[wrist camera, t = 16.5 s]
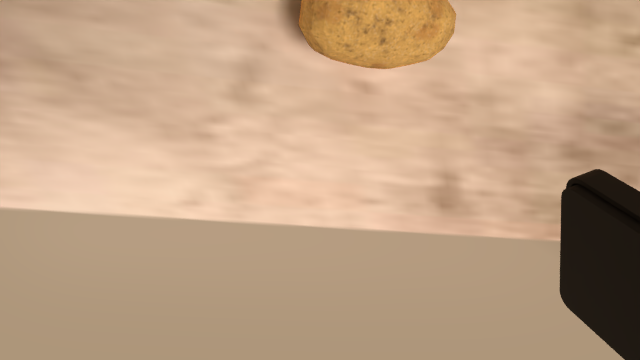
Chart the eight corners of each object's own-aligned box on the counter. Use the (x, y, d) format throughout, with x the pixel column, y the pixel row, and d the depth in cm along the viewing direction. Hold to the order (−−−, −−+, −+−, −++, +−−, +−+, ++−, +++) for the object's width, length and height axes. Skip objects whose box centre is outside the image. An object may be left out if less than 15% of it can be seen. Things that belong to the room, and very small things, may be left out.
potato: (299, -59, 39) (331, -49, 34) (440, -24, 43) (488, -9, 38) (277, 41, 41) (304, 66, 36) (412, 65, 46) (454, 91, 40)
